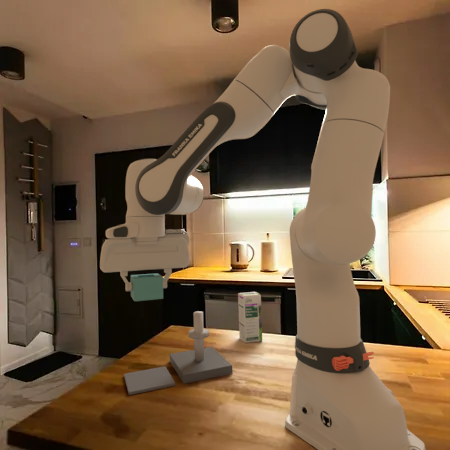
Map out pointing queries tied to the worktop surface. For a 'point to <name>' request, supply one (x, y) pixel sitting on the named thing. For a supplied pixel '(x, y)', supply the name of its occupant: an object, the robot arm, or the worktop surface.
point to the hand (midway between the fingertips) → (146, 289)
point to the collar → (147, 287)
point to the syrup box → (250, 317)
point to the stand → (199, 357)
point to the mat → (148, 380)
